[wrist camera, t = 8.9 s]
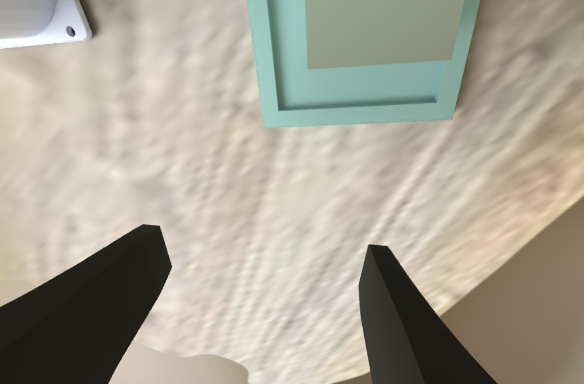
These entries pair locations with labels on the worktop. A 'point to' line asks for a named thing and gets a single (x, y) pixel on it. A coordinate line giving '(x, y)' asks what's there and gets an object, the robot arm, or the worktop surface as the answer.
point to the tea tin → (380, 31)
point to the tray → (347, 76)
